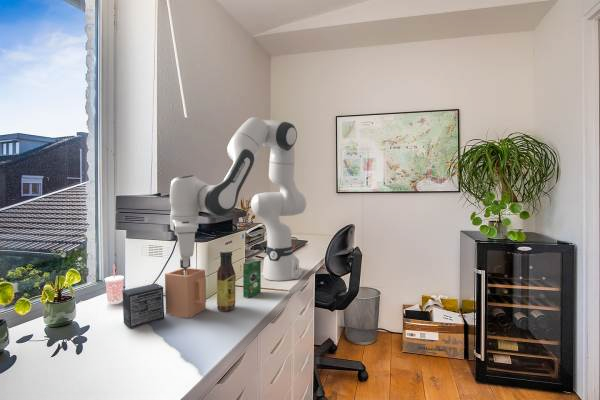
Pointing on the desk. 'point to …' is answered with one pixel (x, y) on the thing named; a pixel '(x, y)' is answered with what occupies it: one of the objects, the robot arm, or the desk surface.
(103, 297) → the desk surface
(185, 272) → the plunger
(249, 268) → the coffee box
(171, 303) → the square terracotta mug
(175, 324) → the desk surface
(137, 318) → the small box
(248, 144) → the robot arm
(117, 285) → the beverage cup
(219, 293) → the sauce bottle
